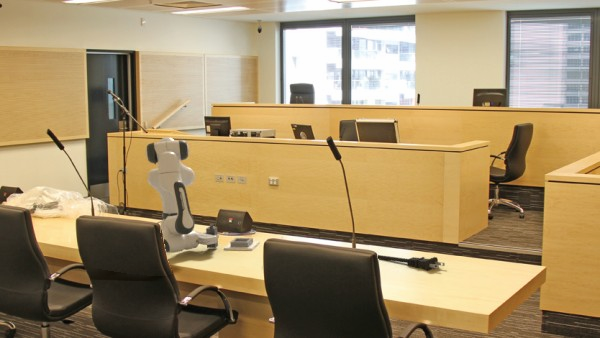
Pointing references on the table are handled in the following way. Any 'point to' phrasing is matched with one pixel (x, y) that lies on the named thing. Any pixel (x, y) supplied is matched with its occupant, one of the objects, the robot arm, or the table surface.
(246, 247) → the socket
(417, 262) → the electrical plug
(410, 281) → the table surface
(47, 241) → the table surface
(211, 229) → the dark grey square bottle
